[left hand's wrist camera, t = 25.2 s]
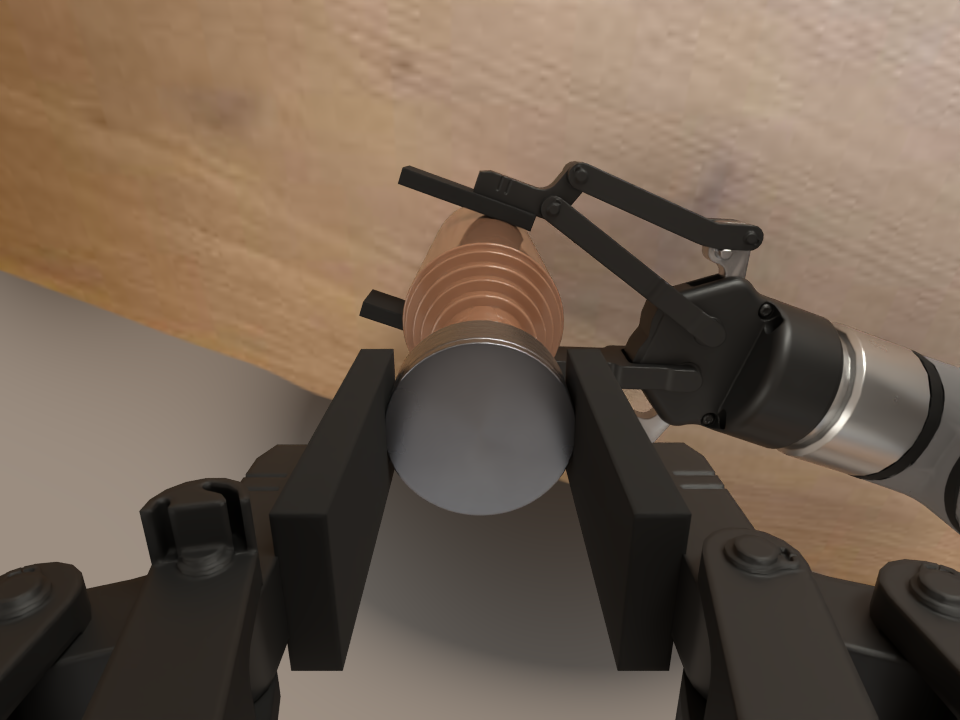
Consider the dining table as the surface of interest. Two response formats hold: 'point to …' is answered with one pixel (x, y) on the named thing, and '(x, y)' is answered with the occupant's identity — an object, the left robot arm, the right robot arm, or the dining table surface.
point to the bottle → (483, 282)
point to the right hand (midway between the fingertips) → (385, 240)
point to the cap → (480, 419)
